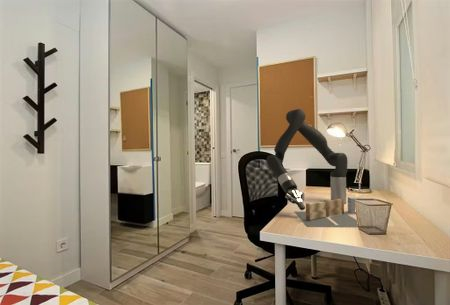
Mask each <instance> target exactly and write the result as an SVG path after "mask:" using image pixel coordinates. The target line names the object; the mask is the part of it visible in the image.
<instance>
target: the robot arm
mask: <svg viewBox="0 0 450 305" xmlns="http://www.w3.org/2000/svg"><path fill="white" fill-rule="evenodd" d="M285 119H286V121H287V123H288V127H287V128H286V130H285V131H284V132H283V134H282V135H281V136H280V137H279V139H278V140H277V142H276V144H275V145H274V146H275V147H274V149H273V150H274V151H273V152H274V154H269V155H268V156H267V157H266V164H267V166H268V168H270V170H271V171H272V172H273V173H274V176H275V177H276V180H278V183H279V184H280V187H281V189H282V190H283V192H284V193H285V194H286V195H285V196H284V198H285V200H287V201H289V202H290V203H292V204H293V205H294V204H295V205H297V207H298V208H299V210H300V211H304V210H306V205H305V204H304V201H305V194H306V193H305V192H304V191H303V192H301V191H300V190H299V189H298V186H297V184H296V182H295V180H293V177H292V176H291V175H290V174H289V172H288V171H287V169H286V168H285V167H284V166H283V162H284V159H285V154H286V152H287V150H288V148H289V145H290V144H291V142H292V140H293V138H294V136H295V135H296V133H297V132H299V133H300V135H302V137H303V138H304V139H306V141H307V142H308V143H309V144H310V145H312V147H313V148H314V149H316V150H317V151H318V153H319V154H321V156H322V157H323V158H324V159H325V161H326V162H327V164H329V165H330V166H332V167H334V168H335V169H334V170H333V171H331V172H330V201H331V200H337V199H340V198H344V205H345V204H347V174H348V163H349V162H348V157H347V154H345V153H344V152H335V151H333V150H332V149H331V148H330V147H329V144H328V140H327V138H326V137H325V135H324V134H323V133H322V132H321V131H320V130H318V129H316V127H313V126H311V125H309V124H308V123H306V122H305V120H306V112H305V111H304V110H303V109H301V108H297V109H293V110H290V111H288V112H287V113H286V115H285Z"/></svg>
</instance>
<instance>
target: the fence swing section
mask: <svg viewBox="0 0 450 305" xmlns="http://www.w3.org/2000/svg"><path fill="white" fill-rule="evenodd" d="M305 212H306V220H312V219H317V218H322V217H326V202H324V201H320V202H313V203H307V202H306V203H305Z"/></svg>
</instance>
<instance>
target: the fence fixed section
mask: <svg viewBox="0 0 450 305" xmlns="http://www.w3.org/2000/svg"><path fill="white" fill-rule="evenodd" d="M323 202H326V217H330V216H335V215H340V214H344V213H345V204H344V198H340V199H337V200H331V199H330V200H328V199H324V200H323Z"/></svg>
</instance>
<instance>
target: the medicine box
mask: <svg viewBox="0 0 450 305" xmlns="http://www.w3.org/2000/svg"><path fill="white" fill-rule="evenodd" d="M355 199H366V198H365V197H362V196H351V197H349V196H348V197H347V212H348V213H349V214H351V215H354V214H356V212H355ZM356 215H357V214H356Z"/></svg>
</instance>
